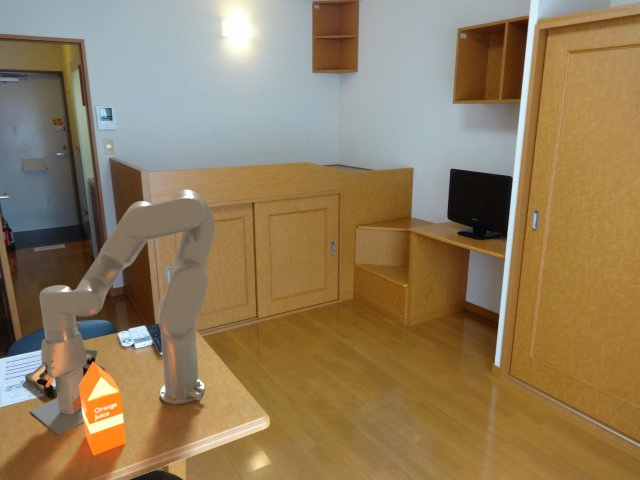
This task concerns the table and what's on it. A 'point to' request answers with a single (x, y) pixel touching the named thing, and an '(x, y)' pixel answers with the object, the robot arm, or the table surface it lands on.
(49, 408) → the rubber mat
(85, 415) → the orange juice
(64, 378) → the skincare box
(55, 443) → the table surface
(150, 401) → the table surface
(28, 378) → the brown square frame
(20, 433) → the table surface
